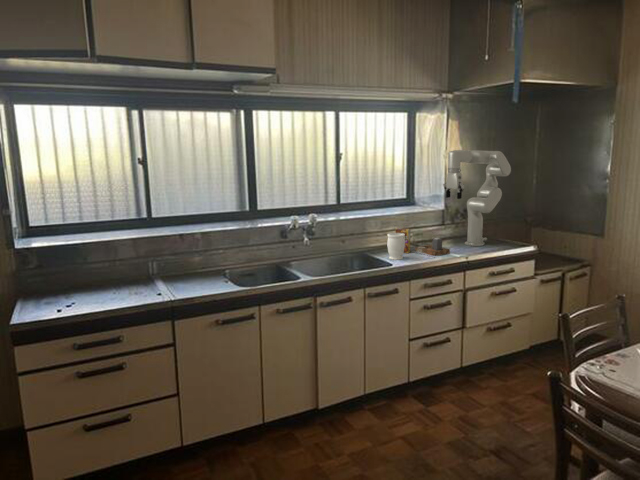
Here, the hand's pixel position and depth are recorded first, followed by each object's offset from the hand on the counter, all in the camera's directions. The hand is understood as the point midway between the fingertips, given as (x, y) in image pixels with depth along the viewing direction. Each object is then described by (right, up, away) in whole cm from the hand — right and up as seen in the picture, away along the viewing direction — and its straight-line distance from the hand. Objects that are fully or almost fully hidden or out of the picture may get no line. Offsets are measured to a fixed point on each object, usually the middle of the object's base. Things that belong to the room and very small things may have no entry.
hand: (453, 198), depth 308 cm
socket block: (-15, -35, -4) cm, 38 cm away
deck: (-6, -33, +5) cm, 34 cm away
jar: (-39, -38, -14) cm, 56 cm away
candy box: (-32, -35, +2) cm, 47 cm away
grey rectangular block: (-12, -36, -8) cm, 39 cm away
